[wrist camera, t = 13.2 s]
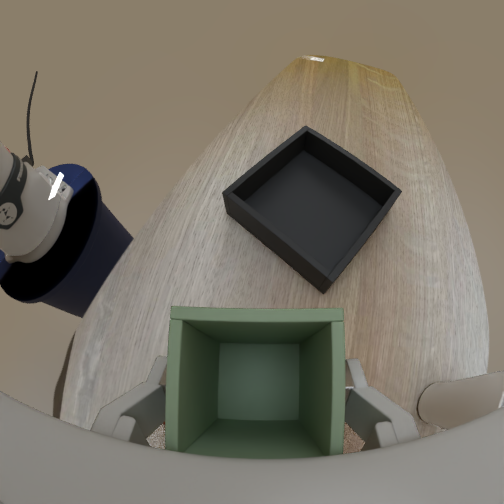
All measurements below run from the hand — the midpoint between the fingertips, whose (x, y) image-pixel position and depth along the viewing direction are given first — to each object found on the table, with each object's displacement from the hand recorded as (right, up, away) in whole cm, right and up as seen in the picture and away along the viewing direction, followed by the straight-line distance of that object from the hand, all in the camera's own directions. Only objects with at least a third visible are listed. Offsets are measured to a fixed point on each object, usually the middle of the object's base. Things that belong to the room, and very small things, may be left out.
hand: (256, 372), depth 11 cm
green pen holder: (0, -2, +4) cm, 4 cm away
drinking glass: (+22, -14, +15) cm, 30 cm away
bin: (+8, +10, +25) cm, 28 cm away
